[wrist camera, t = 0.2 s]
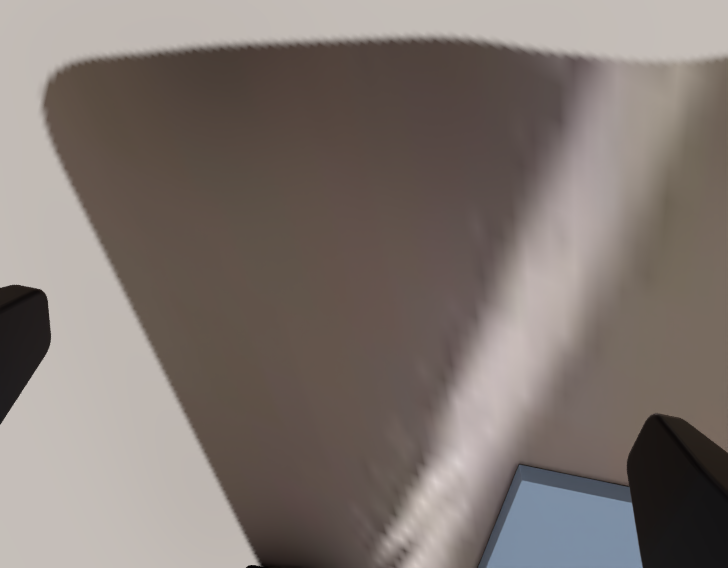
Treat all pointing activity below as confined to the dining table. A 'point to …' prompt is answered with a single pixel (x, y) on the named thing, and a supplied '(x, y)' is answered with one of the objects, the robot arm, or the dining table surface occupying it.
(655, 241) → the dining table surface
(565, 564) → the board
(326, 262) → the dining table surface
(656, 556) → the robot arm
